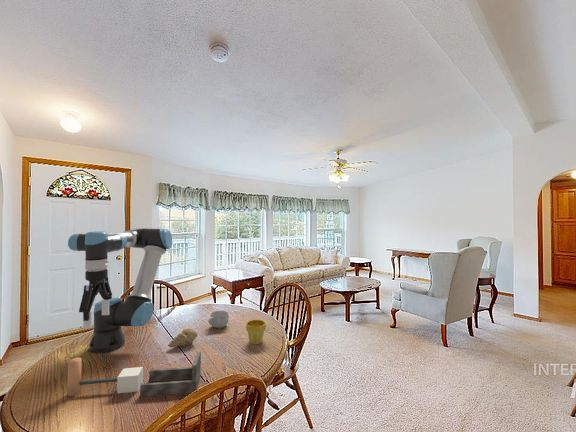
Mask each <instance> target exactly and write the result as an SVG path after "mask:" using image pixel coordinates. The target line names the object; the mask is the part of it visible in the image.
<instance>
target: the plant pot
mask: <svg viewBox="0 0 576 432" xmlns="http://www.w3.org/2000/svg"><path fill="white" fill-rule="evenodd" d="M266 329H267V322H266V321H265V320H264V319H251V320H248V321H247V322H246V324H245V330H246V332H247V336H248V340H249V343H250V344H251V345H258V344H261V343H262V342H263V339H264V333H265V331H266Z"/></svg>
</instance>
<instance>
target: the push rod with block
mask: <svg viewBox="0 0 576 432" xmlns="http://www.w3.org/2000/svg"><path fill="white" fill-rule="evenodd" d="M82 359H83V358H81V357H74V358H71V359H69V360H68V361H67V382H66V383H67V385H66V386H67V391H66V395H67V396H68V397H75V396H77V395H80V393H81V392H82V386H83V385H84V386H85V385H87V386H88V385H94V384H95V385H96V384H106V383H108V384H109V383H117V384H116V386H117V387H116V394H127V393H136V392H139V391H140V385H141V384H144V367H143V366H137V367H129V368H128V367H126V368H125V367H124V368H123V369H122V370H121V372H120V373H119V375H117V377H109V378H98V379H97V378H96V379H88V380H82Z"/></svg>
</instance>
